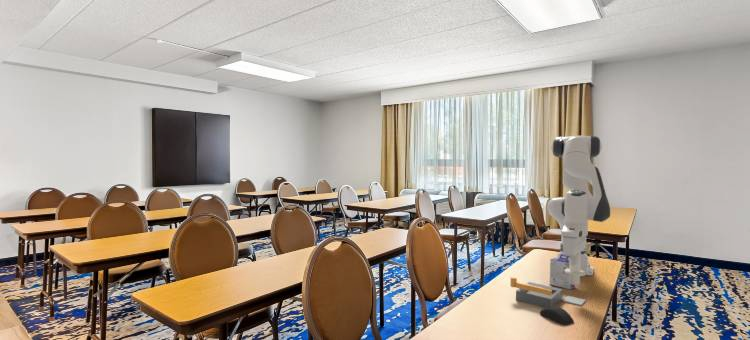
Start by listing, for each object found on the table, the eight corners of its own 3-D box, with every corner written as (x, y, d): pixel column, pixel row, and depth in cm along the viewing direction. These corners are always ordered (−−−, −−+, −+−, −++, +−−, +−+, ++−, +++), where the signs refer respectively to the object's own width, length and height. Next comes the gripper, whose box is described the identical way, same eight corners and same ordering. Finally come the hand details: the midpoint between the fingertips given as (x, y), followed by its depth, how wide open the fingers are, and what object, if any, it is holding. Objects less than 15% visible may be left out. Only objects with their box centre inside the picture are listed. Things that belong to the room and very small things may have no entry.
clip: (511, 284, 164) (512, 276, 164) (552, 294, 153) (552, 285, 153) (509, 286, 162) (509, 278, 162) (550, 296, 151) (550, 287, 151)
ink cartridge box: (576, 287, 177) (576, 256, 176) (571, 290, 173) (571, 258, 173) (554, 282, 184) (555, 252, 184) (549, 284, 181) (549, 254, 180)
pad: (567, 297, 165) (567, 295, 165) (585, 301, 160) (585, 299, 160) (562, 301, 159) (562, 300, 159) (581, 306, 155) (581, 304, 155)
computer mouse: (549, 311, 150) (549, 301, 150) (575, 323, 140) (575, 312, 139) (538, 314, 147) (538, 304, 147) (563, 326, 137) (564, 315, 137)
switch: (529, 290, 172) (529, 279, 172) (562, 298, 163) (562, 286, 163) (515, 299, 161) (516, 288, 161) (550, 309, 152) (550, 296, 151)
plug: (567, 279, 165) (568, 249, 164) (587, 283, 159) (587, 252, 159) (562, 283, 159) (562, 252, 159) (582, 287, 154) (582, 255, 153)
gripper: (574, 225, 168) (574, 256, 169) (559, 232, 153) (559, 266, 154) (590, 227, 164) (590, 259, 165) (577, 234, 149) (576, 269, 149)
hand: (575, 263), depth 159 cm, fingers closed on plug, 4 cm apart
